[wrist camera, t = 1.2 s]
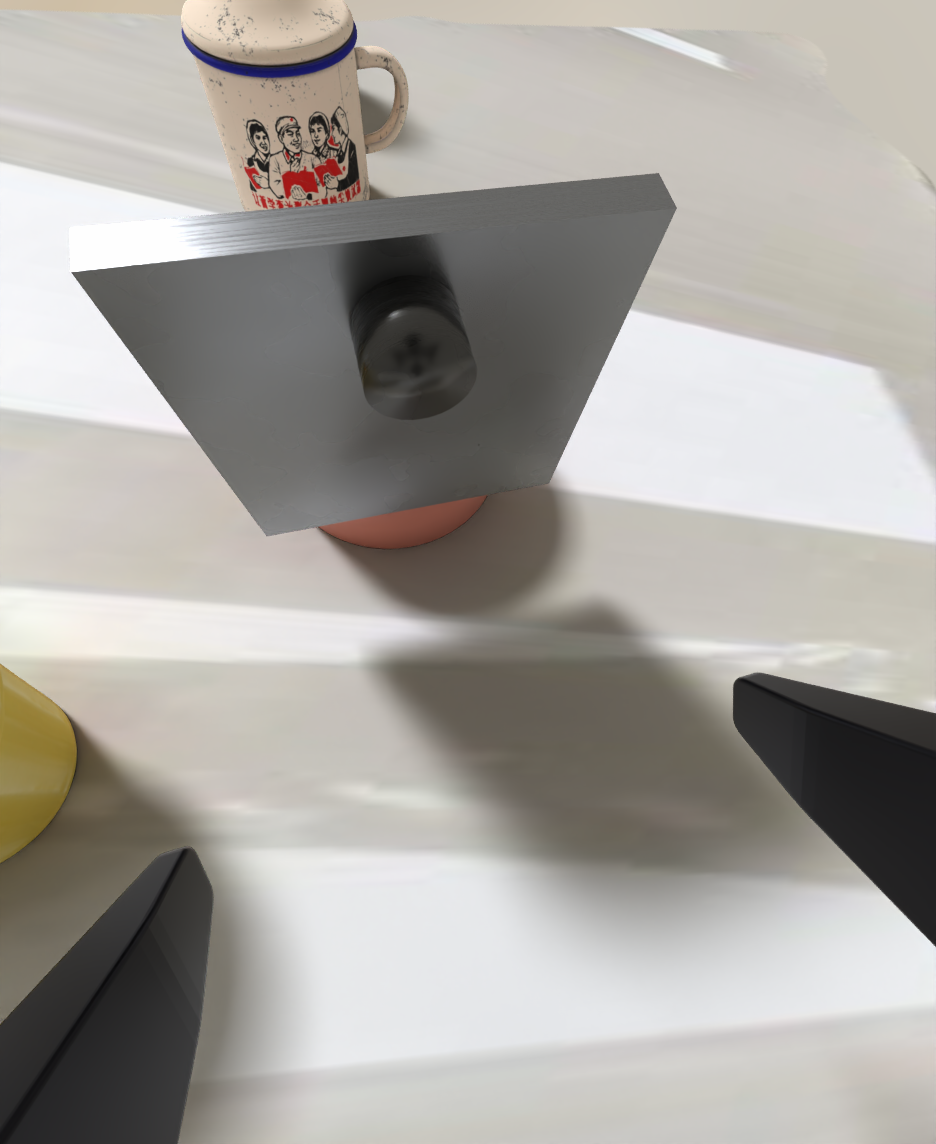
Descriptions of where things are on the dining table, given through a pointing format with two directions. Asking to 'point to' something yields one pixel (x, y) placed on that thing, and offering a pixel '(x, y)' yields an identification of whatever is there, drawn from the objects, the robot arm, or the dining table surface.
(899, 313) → the dining table surface
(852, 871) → the dining table surface
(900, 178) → the dining table surface
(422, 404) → the lid
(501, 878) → the dining table surface
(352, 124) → the teacup with lid
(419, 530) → the cooker pot
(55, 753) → the plant pot
